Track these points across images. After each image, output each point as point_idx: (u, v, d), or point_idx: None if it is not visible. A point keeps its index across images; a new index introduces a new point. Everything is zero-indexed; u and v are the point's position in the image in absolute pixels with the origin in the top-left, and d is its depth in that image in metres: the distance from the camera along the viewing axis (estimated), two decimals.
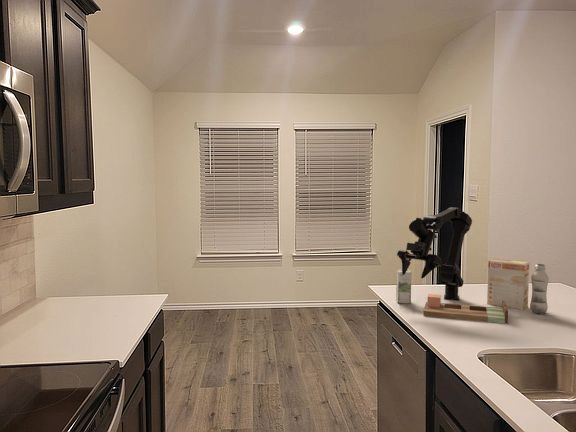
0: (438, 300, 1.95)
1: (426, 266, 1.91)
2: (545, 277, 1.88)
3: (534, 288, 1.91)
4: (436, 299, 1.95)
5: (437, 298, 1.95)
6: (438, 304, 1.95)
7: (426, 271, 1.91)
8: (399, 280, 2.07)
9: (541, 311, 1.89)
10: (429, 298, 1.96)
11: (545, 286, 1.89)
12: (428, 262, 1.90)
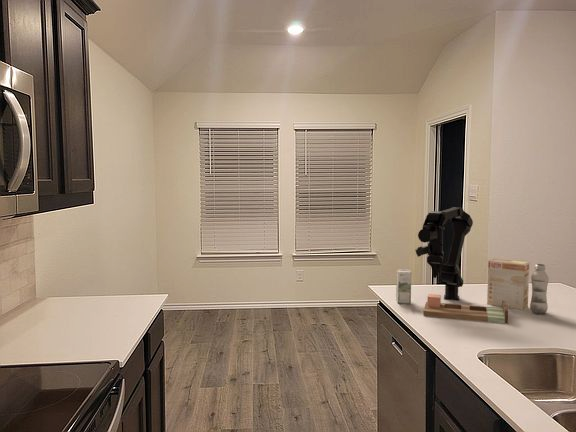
0: (438, 300, 1.95)
1: (431, 267, 1.99)
2: (545, 277, 1.88)
3: (534, 288, 1.91)
4: (436, 299, 1.95)
5: (437, 298, 1.95)
6: (438, 304, 1.95)
7: (434, 271, 1.99)
8: (399, 280, 2.07)
9: (541, 311, 1.89)
10: (429, 298, 1.96)
11: (545, 286, 1.89)
12: (428, 263, 1.99)
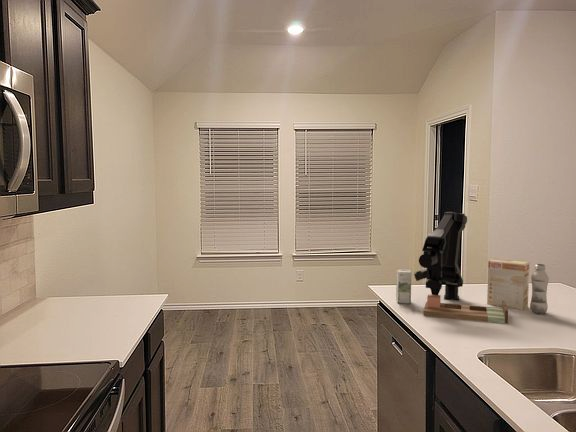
0: (438, 301, 1.94)
1: None
2: (545, 277, 1.88)
3: (534, 288, 1.91)
4: (436, 300, 1.95)
5: (437, 299, 1.94)
6: (438, 305, 1.94)
7: (433, 294, 2.00)
8: (399, 280, 2.07)
9: (541, 311, 1.89)
10: (428, 299, 1.96)
11: (545, 286, 1.89)
12: None
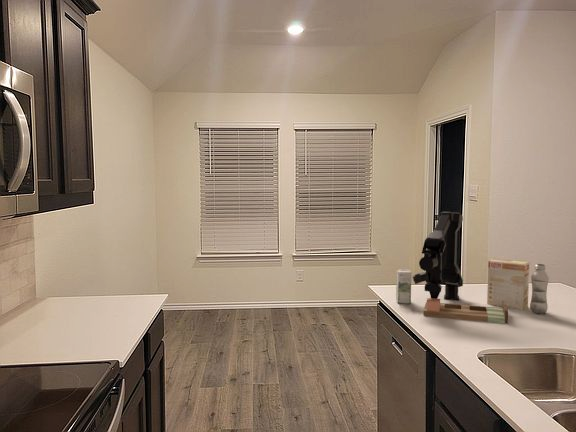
0: (437, 304, 1.89)
1: (430, 293, 1.95)
2: (545, 277, 1.88)
3: (534, 288, 1.91)
4: (435, 303, 1.89)
5: (436, 302, 1.89)
6: (437, 308, 1.89)
7: (433, 297, 1.94)
8: (399, 280, 2.07)
9: (541, 311, 1.89)
10: (428, 302, 1.90)
11: (545, 286, 1.89)
12: None
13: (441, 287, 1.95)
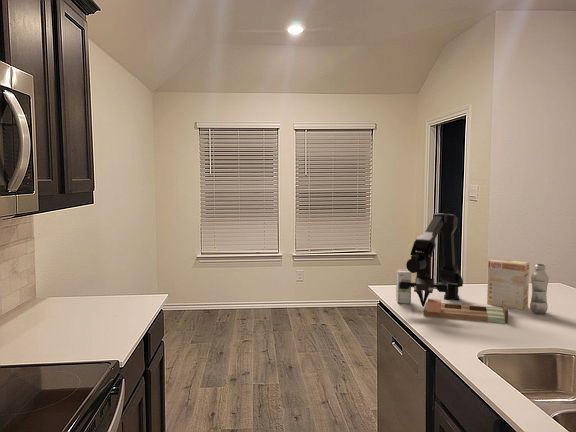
0: (438, 305, 1.87)
1: (426, 296, 1.91)
2: (545, 277, 1.88)
3: (534, 288, 1.91)
4: (436, 304, 1.88)
5: (437, 303, 1.87)
6: (438, 309, 1.87)
7: (426, 299, 1.92)
8: (399, 280, 2.07)
9: (541, 311, 1.89)
10: (429, 303, 1.89)
11: (545, 286, 1.89)
12: (428, 293, 1.89)
13: None
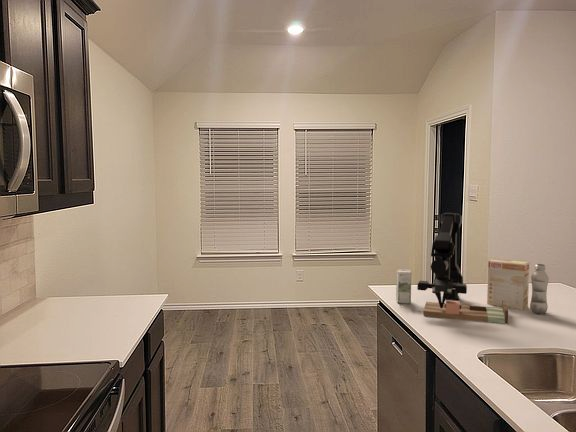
0: (457, 307, 1.85)
1: (444, 297, 1.88)
2: (545, 277, 1.88)
3: (534, 288, 1.91)
4: (455, 306, 1.85)
5: (456, 305, 1.85)
6: (457, 311, 1.85)
7: (444, 300, 1.90)
8: (399, 280, 2.07)
9: (541, 311, 1.89)
10: (447, 305, 1.86)
11: (545, 286, 1.89)
12: (447, 294, 1.87)
13: None
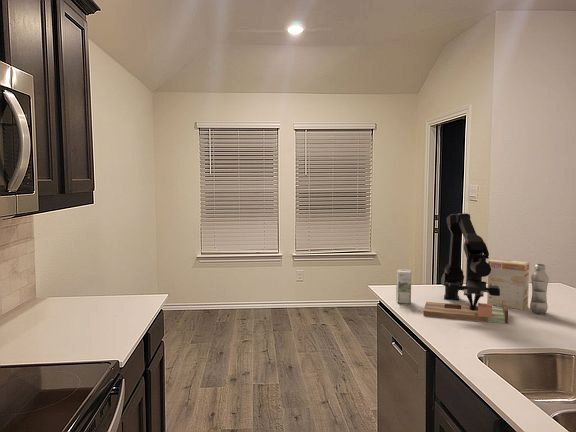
0: (490, 310, 1.80)
1: (476, 299, 1.84)
2: (545, 277, 1.88)
3: (534, 288, 1.91)
4: (487, 309, 1.81)
5: (489, 308, 1.80)
6: (490, 314, 1.80)
7: (476, 303, 1.85)
8: (399, 280, 2.07)
9: (541, 311, 1.89)
10: (479, 308, 1.82)
11: (545, 286, 1.89)
12: (479, 296, 1.83)
13: None
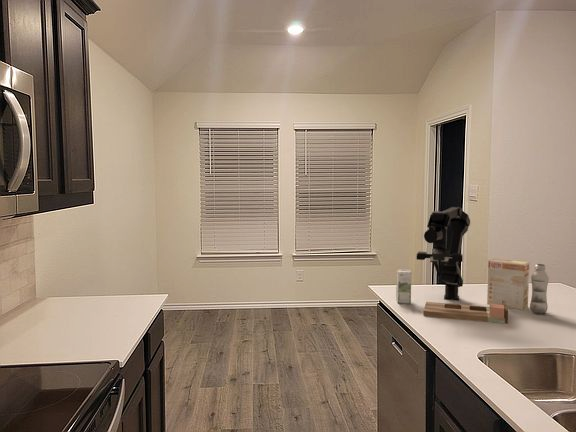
0: (502, 311, 1.79)
1: (442, 266, 2.01)
2: (545, 277, 1.88)
3: (534, 288, 1.91)
4: (499, 310, 1.79)
5: (501, 309, 1.79)
6: (502, 315, 1.79)
7: (442, 269, 2.02)
8: (399, 280, 2.07)
9: (541, 311, 1.89)
10: (491, 309, 1.80)
11: (545, 286, 1.89)
12: (444, 263, 2.00)
13: None
